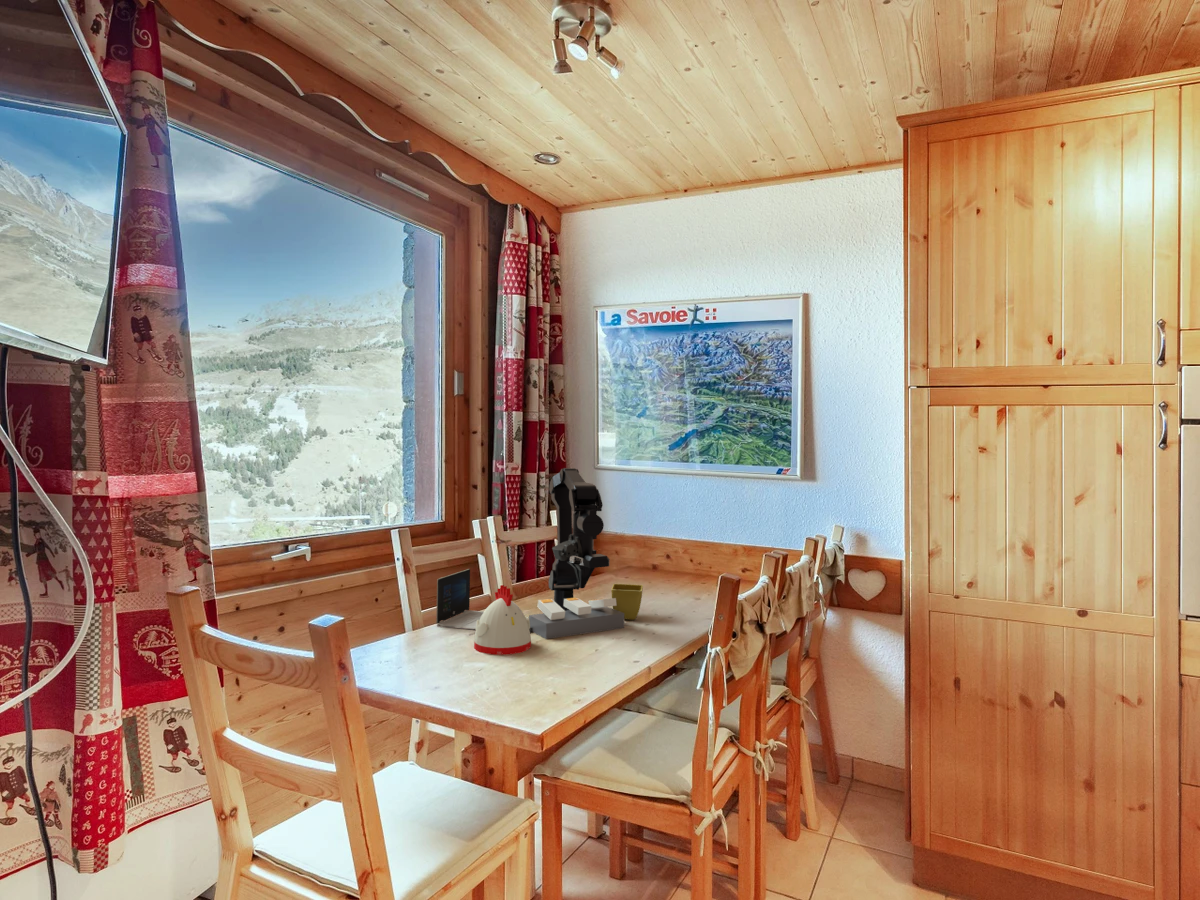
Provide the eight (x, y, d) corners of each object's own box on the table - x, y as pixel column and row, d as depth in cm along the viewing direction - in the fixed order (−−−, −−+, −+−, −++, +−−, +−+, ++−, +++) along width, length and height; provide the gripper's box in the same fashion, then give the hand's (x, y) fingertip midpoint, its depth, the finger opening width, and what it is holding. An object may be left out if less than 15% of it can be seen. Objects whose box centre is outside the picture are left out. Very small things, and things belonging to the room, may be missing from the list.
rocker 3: (589, 607, 200) (588, 600, 201) (601, 606, 202) (600, 598, 203) (604, 607, 194) (603, 598, 194) (616, 605, 196) (615, 597, 196)
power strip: (508, 632, 189) (508, 617, 189) (604, 619, 205) (604, 605, 205) (524, 642, 180) (525, 626, 180) (624, 627, 196) (624, 613, 196)
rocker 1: (537, 607, 192) (538, 599, 192) (550, 605, 194) (551, 598, 194) (550, 620, 186) (551, 612, 185) (564, 618, 188) (565, 610, 187)
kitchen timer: (488, 658, 167) (489, 593, 166) (464, 643, 178) (465, 583, 178) (541, 649, 174) (542, 587, 174) (515, 636, 186) (516, 578, 186)
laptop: (476, 631, 190) (477, 582, 190) (435, 626, 194) (436, 578, 194) (506, 616, 208) (507, 571, 207) (468, 612, 212) (469, 568, 211)
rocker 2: (563, 606, 196) (563, 598, 196) (576, 604, 198) (576, 596, 198) (578, 614, 190) (578, 607, 189) (590, 613, 192) (591, 605, 192)
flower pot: (642, 615, 211) (643, 584, 211) (641, 622, 203) (642, 590, 203) (612, 613, 212) (613, 583, 212) (610, 621, 204) (610, 589, 203)
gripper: (541, 528, 199) (539, 584, 199) (574, 537, 183) (573, 598, 183) (575, 526, 204) (574, 580, 205) (611, 535, 189) (609, 594, 189)
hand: (581, 588), depth 195 cm, fingers closed
